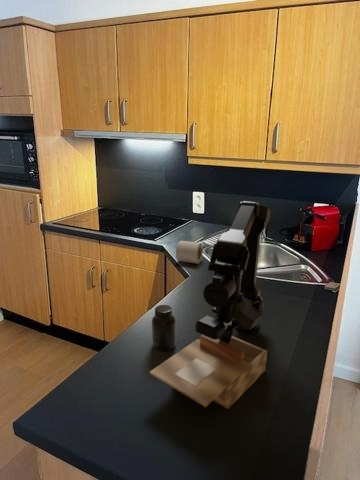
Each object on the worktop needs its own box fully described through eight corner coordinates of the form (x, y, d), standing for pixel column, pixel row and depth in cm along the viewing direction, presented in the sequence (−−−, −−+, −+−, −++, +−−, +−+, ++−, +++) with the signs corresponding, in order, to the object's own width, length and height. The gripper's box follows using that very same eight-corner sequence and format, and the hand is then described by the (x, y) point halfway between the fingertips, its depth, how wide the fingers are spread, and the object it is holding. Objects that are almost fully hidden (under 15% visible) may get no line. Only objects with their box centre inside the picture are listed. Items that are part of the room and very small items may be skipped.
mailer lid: (197, 340, 95) (197, 330, 94) (250, 365, 85) (251, 354, 84) (149, 373, 82) (149, 362, 81) (205, 407, 72) (206, 394, 71)
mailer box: (215, 347, 103) (216, 329, 101) (265, 370, 93) (267, 350, 91) (174, 378, 90) (174, 357, 88) (227, 409, 80) (228, 386, 78)
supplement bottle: (163, 336, 109) (162, 300, 105) (180, 344, 104) (180, 307, 101) (147, 346, 103) (146, 309, 100) (164, 355, 99) (164, 316, 96)
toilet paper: (202, 259, 175) (203, 240, 172) (195, 266, 166) (196, 246, 163) (183, 257, 178) (183, 238, 175) (176, 263, 169) (176, 243, 166)
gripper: (236, 314, 74) (232, 377, 79) (276, 286, 88) (271, 342, 92) (194, 298, 81) (193, 357, 85) (237, 275, 95) (234, 327, 99)
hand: (225, 345), depth 90 cm, fingers closed
